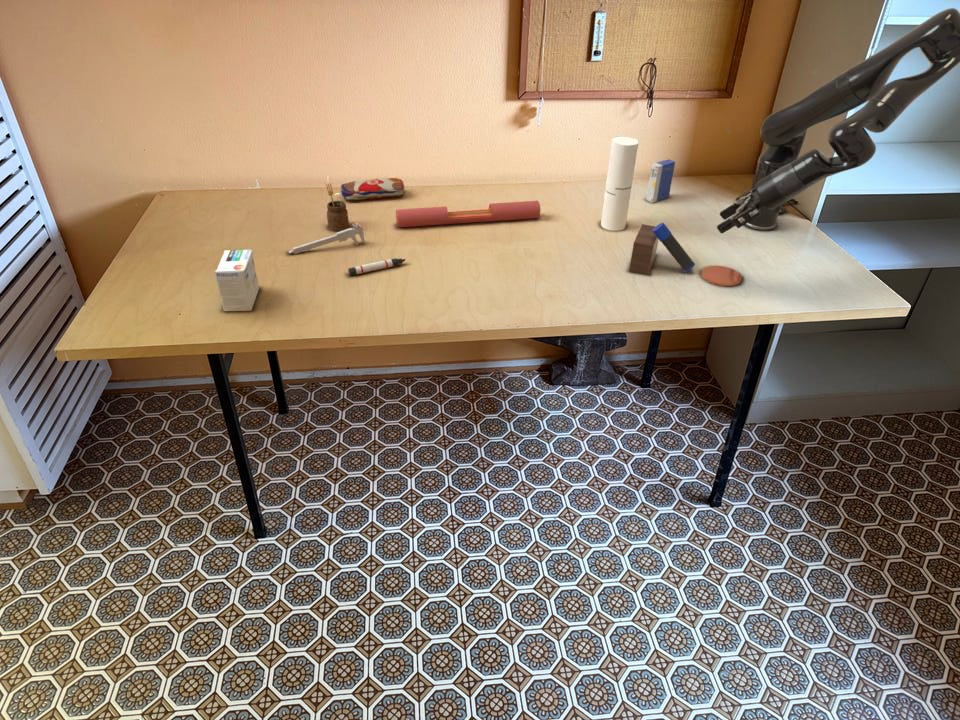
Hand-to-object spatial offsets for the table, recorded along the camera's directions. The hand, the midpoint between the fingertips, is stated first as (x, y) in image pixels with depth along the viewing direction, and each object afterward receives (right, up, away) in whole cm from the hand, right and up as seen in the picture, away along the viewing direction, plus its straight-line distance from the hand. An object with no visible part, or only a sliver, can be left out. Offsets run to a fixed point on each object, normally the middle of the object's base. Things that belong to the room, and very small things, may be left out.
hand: (720, 223), depth 174 cm
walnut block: (-16, -8, +13) cm, 22 cm away
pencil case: (-93, +17, +45) cm, 105 cm away
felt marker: (-9, -5, +8) cm, 13 cm away
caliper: (-101, -4, +17) cm, 102 cm away
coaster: (+3, -12, +8) cm, 15 cm away
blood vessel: (-63, +6, +32) cm, 71 cm away
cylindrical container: (-21, +5, +32) cm, 38 cm away
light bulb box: (-117, -20, -6) cm, 118 cm away
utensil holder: (-100, +4, +28) cm, 104 cm away
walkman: (-3, +17, +49) cm, 52 cm away
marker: (-86, -11, +8) cm, 87 cm away
